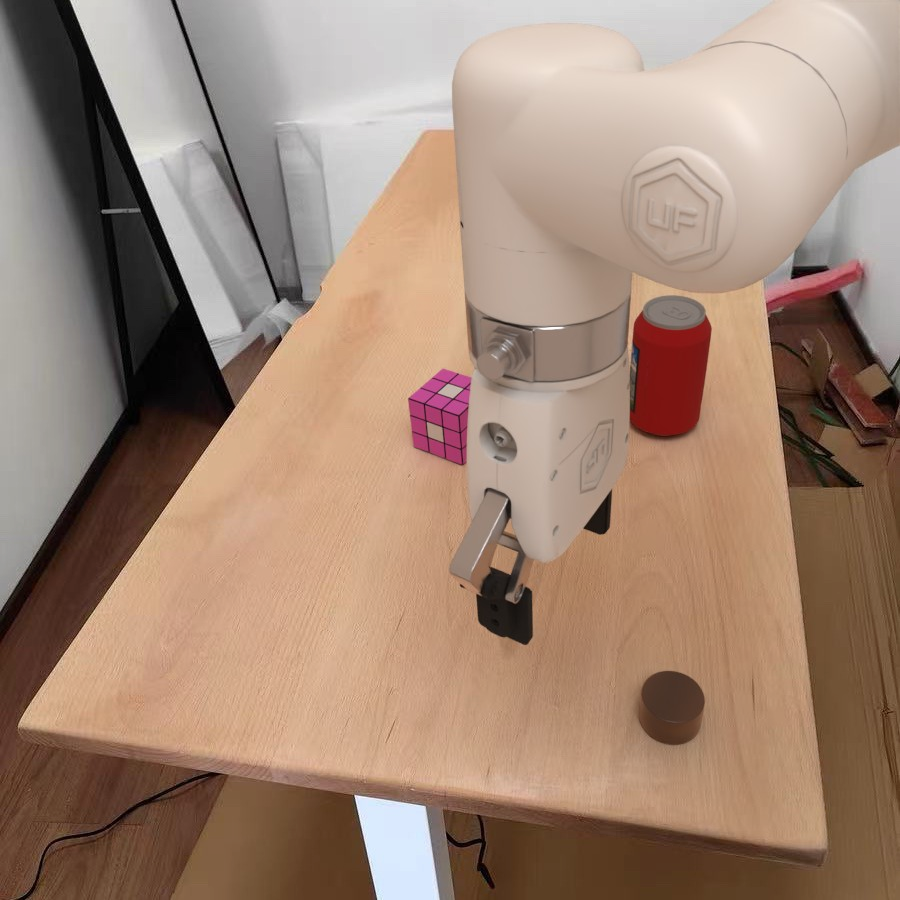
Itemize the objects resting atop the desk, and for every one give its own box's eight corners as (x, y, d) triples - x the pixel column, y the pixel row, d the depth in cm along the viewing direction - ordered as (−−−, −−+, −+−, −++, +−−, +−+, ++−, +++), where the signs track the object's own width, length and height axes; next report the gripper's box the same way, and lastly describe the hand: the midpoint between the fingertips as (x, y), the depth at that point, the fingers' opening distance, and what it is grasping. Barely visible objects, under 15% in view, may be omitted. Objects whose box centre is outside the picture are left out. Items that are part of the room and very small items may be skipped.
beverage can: (653, 391, 86) (663, 284, 79) (712, 418, 82) (729, 307, 75) (612, 422, 83) (618, 313, 75) (672, 451, 79) (685, 338, 71)
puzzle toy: (412, 447, 82) (407, 397, 78) (446, 415, 86) (442, 367, 82) (462, 465, 79) (459, 416, 76) (495, 433, 83) (493, 383, 79)
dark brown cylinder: (709, 709, 58) (713, 686, 56) (687, 755, 55) (691, 733, 54) (652, 683, 60) (655, 661, 58) (629, 727, 57) (631, 705, 55)
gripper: (527, 447, 33) (532, 712, 44) (693, 260, 44) (664, 508, 55) (371, 395, 36) (411, 652, 47) (561, 234, 47) (558, 472, 58)
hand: (547, 575), depth 51 cm, fingers open, 9 cm apart
